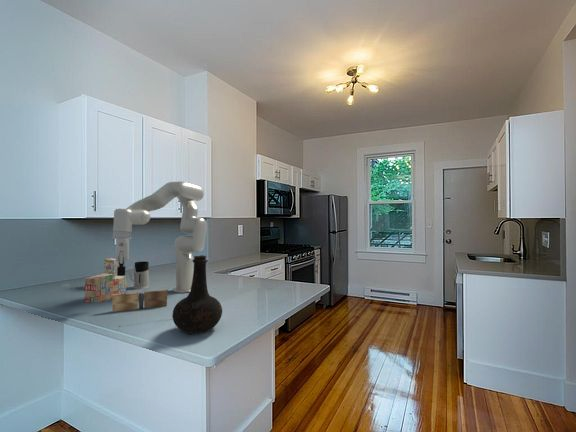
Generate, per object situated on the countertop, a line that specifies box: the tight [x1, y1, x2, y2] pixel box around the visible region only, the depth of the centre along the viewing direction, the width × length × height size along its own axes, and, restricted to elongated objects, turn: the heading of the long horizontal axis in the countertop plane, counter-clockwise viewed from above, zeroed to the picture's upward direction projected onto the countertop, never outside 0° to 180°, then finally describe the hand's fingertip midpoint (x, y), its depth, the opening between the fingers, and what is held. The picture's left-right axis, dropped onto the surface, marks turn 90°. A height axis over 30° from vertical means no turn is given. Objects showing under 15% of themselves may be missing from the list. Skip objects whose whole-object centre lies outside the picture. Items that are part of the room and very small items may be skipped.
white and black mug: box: [128, 261, 150, 290], centre depth 181 cm, size 9×14×15 cm, turn 167°
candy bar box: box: [103, 257, 118, 277], centre depth 186 cm, size 11×5×16 cm, turn 58°
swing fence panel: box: [111, 291, 140, 313], centre depth 137 cm, size 10×2×7 cm, turn 116°
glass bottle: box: [171, 255, 223, 334], centre depth 117 cm, size 18×18×28 cm
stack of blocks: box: [84, 273, 128, 304], centre depth 161 cm, size 21×6×12 cm, turn 169°
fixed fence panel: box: [138, 289, 168, 310], centre depth 142 cm, size 12×2×8 cm, turn 116°
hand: (121, 275), depth 141 cm, fingers closed
